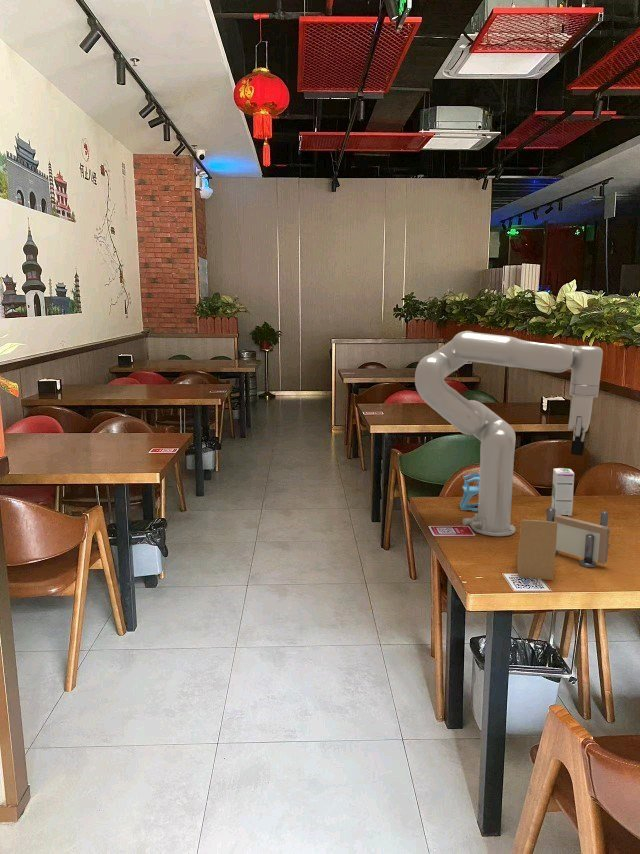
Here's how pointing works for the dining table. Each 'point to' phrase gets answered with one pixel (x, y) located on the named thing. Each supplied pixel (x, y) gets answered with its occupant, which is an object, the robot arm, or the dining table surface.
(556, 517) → the panel
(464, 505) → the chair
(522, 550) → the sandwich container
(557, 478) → the syrup box
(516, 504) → the dining table surface
